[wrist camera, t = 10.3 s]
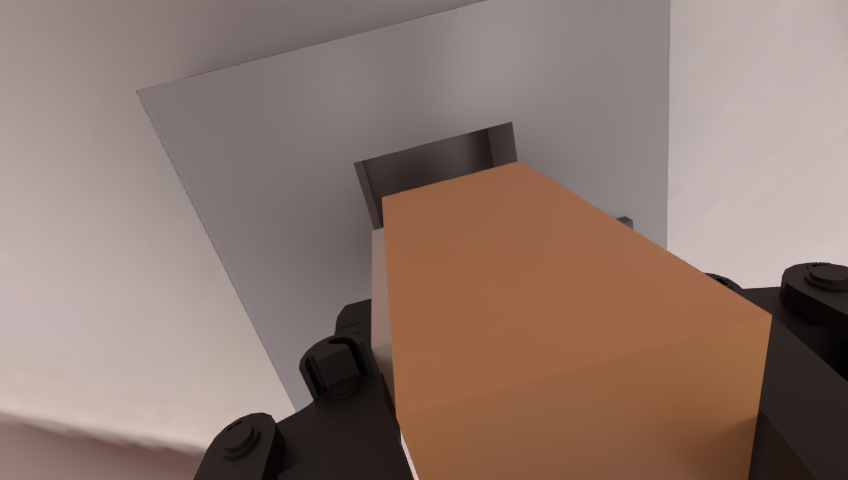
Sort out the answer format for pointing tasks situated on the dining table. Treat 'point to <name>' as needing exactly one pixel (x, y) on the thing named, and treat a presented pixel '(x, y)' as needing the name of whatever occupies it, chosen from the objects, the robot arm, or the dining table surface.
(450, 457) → the plug
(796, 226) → the dining table surface
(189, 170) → the socket box
